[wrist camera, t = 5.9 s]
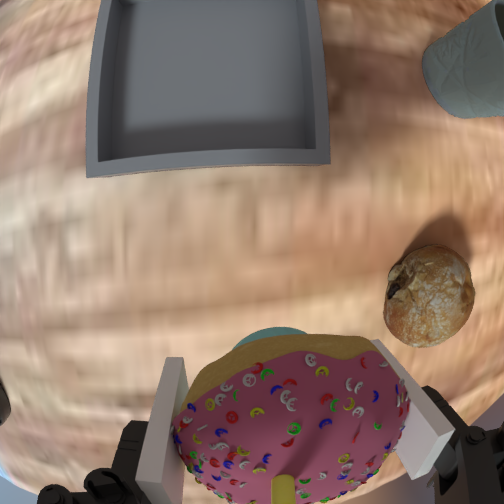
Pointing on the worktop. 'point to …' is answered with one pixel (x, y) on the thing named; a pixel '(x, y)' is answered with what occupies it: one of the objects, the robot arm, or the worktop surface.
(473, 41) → the grey cup
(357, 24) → the worktop surface
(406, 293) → the bread roll
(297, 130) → the serving tray
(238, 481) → the cupcake
